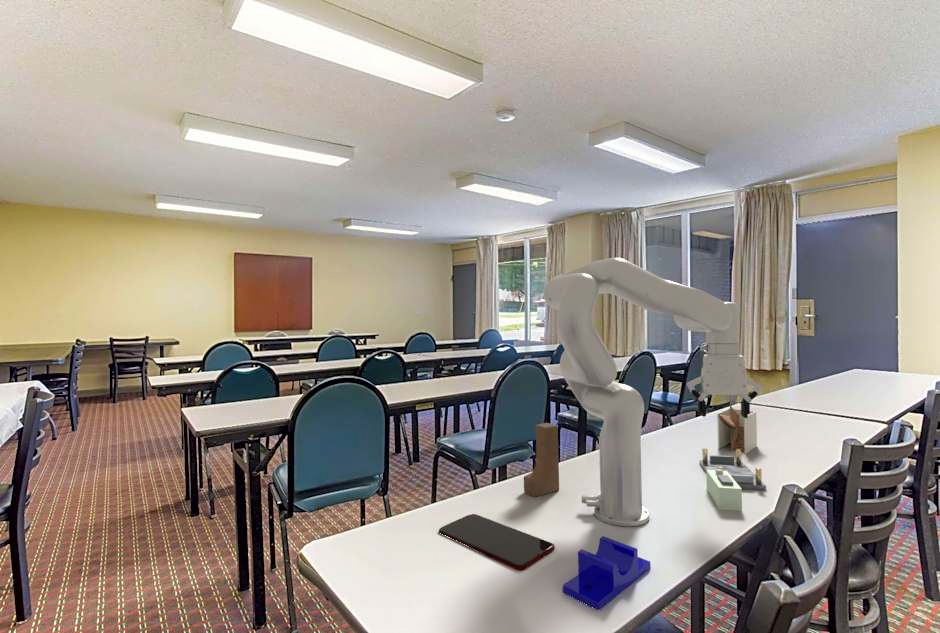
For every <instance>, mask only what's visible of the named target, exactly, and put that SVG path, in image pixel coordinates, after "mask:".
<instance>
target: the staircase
mask: <svg viewBox="0 0 940 633" xmlns="http://www.w3.org/2000/svg"><path fill="white" fill-rule="evenodd" d="M716 416H717V449H718V448H719V449H721V448H723V447H725V446H726V445H728V444H730V446H731V448H730V449H731V452H735V453H736V450H737V449H738V450H741V454H745V455H747V453H749V452H751V451H752V450H754V449H755V447H756V448H757V447H758V434H757V433H758V431H757V428H758V427H757V411H755V410H750V414H748V418H744V417H743V416H741V409H738V408H734V407H732V403H731V402H730V403H729V408H727V409H724V410H721V411H719V412H717V415H716Z"/></svg>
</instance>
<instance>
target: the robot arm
mask: <svg viewBox="0 0 940 633" xmlns="http://www.w3.org/2000/svg"><path fill="white" fill-rule="evenodd" d="M603 294H604V295H606V294H607V295H608V294H611V295H614V296H616V297H618V298H620V299H622V300H624V301H626V302H628V303H631V304H633V305H635V306H637V307H639V308H641V309H643V310H646V311H649V312H652V313H656V314H662V315H663V314H664V315H670V316H673V320H674V323H675V325H677V327H678V328H680V329H682V330H685V331H686V332H687V331H690V332H703V333H705V332H706V339H705V340H706V342H705V344H704V345H700V351H701V352H702V351H703V352H705V354H703V358H702V364H701V374H700V376H699V377H697V378H695V379H692V380H690V381H688V382H686V386H687V388H688V390H689V392H690V393H691V394H692V396H694V397H695V398H696V399H697V409H698V410H697V412H698V413H700V415H701V416H702V417H706V416H707V402H706V401H705V399H706V398H707V397H708V396H709V395H711V396H712V395H713V396H714V395H715V396H740V397H741V399H742V400H741V401H740V410H741V416H743V417H744V418H748V414H750V411H751V409H750V407H751V402H752V400H754V399H755V398H756V397H757V396H758V394H759V392H760V390H761V389H762V384H760V383H758V382H756V381H754V380H752V379H749V378H748V377H747V376H748V375H747V366H746V361H745V358H744V355H741V354H740V352H741V351H740V308H739V304H737V302H732V301H723V300H721V299H720V298H718V297H716V296H714V295H712V294H710V293H708V292H706V291H704V290H700V289H698V288H696V287H693V286H687V285H685V284H681V283H678V282H676V281H675V282H674V281H671V280H668V279H665V278H662V277H659V276H658V275H656V274H654V273H653V272H652V273H651V272H650V271H649V270H647V269H645V268H642V267H640V266H639V265H637V264H634V263H632V262H631V261H628V260H626V259H625V258H621V257H610V258H606V259H600V260H595V261H592V262H590V263H586V264H585V265H582V266H580V267H576V268H574V269H571V270H569V271H567V272H563V273H560V274H558V275H556V276H553V277H552V278H550V279H549V280H548V281H547V283H546V284H545V286H544V288H543V299H544V301H545V303H546V305H548V306H549V307H550V308H552V309H553V310H556V311H558V312H557V316H556V333H557V337H558V339H559V342H560V343H561V345H562V347H563V349H564V350H563V352H562V353H561V355H560V356H561V357H560V359H559V368H560V372H561V376H563V379H564V380H565V383H567V385H568V386H569V388H570V391H572V393H573V394H574V396H575V399H577V401H578V402H579V403H580V405H581V407H582V408H583V409H584V410H585V411H586V412H587V413H588V414H590V415H592V416H594V417H596V418H599V419H602V420H603V423H602V427H601V430H600V434H599V437H598V449H599V451H598V452H599V455H598V456H599V487H600V490H598V494H596V493H595V494H594V495H590V494H589V495H588V494H581V503H582V504H586V507H594V510H593V511H594V516H595V517H596V518H597V519H599V520H600V521H602V522H603V523H606V524H609V525H613V526H619V527H636V526H641V525H644V524H646V523H647V522H648V521H649V520H650V512H649V510H648V509H647V508H646V507H645V506H643V492H642V491H643V490H642V484H643V483H642V482H643V481H642V480H643V479H642V453H641V452H642V448H641V446H642V445H641V441H642V439H641V438H642V436H641V434H642V424H643V420H644V419H643V418H644V414H645V403H644V400H643V397H642V395H641V394H640V392H639V391H638V390H636V389H635V388H634V387H632V386H630V385H627V384H624V383H619V382H616V381H615V380H616V378H617V375H618V366H617V365H616V362H615V360H614V358H613V355H611V353H610V351H609V350H608V348H607V346H606V344H605V343H604V341H603V339H602V338H601V335H600V334H599V333H598V331H597V329H596V327H595V325H594V318H593V317H594V310H595V307H596V303H597V301H598V297H599V295H603ZM698 384H700V388H701V391H700V392H698V391H696V388H695V386H696V385H698ZM748 385H749V386H751V387H752V389H751V391H749V392H748Z"/></svg>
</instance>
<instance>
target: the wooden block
mask: <svg viewBox="0 0 940 633" xmlns="http://www.w3.org/2000/svg"><path fill="white" fill-rule="evenodd" d="M558 427H559V426H558V425H556V424H553V423H549V422H543V423H539V424H535V449H536V454H535V456H536V462H535V467H534V468H533V470H532V472H531V473H528V474H526V475H524V476H523V493H525V494H527V495H529V496H531V497H532V498H536V497H539V496H543V495H547V494H551V493H554V492H559V491H560V467H559V463H560V462H559V432H558V431H559V429H558Z"/></svg>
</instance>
